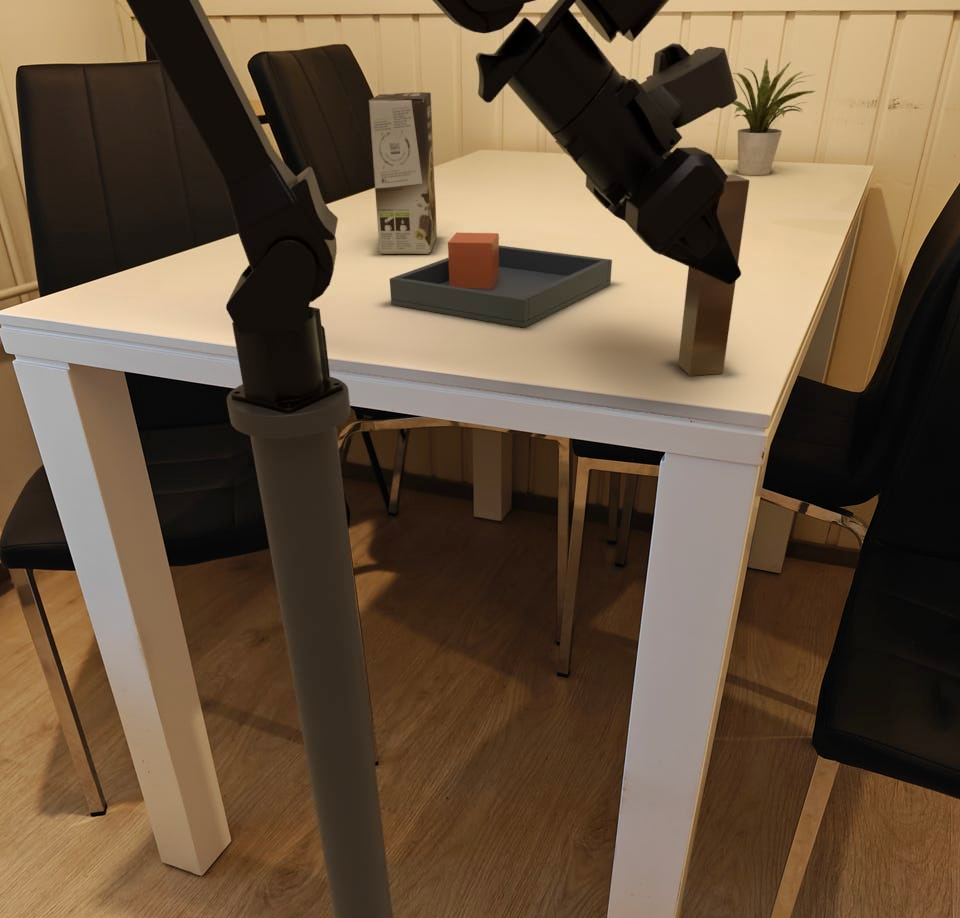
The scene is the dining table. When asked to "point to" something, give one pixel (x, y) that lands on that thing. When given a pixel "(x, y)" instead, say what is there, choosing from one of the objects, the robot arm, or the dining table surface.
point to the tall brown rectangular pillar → (713, 294)
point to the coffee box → (404, 172)
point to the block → (474, 260)
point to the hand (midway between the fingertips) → (716, 264)
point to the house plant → (762, 122)
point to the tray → (506, 287)
